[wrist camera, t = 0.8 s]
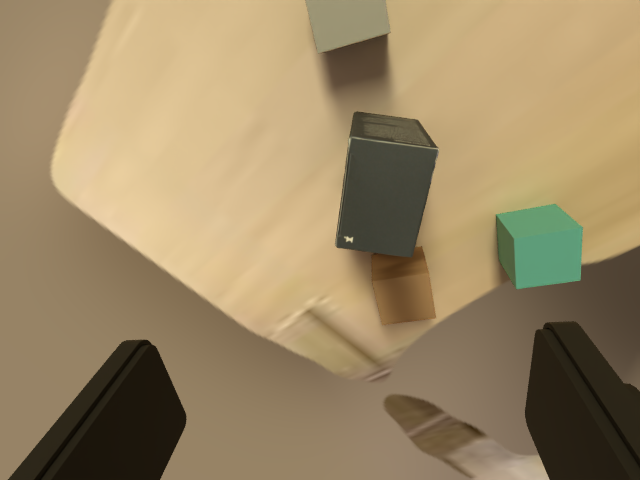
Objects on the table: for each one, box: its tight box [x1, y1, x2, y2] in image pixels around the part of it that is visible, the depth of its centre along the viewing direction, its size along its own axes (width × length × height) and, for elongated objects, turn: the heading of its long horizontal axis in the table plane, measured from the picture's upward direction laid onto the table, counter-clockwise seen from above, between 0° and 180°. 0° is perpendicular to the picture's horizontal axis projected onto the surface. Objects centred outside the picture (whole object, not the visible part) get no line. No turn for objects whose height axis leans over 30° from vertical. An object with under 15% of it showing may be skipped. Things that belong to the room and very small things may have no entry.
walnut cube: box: [372, 246, 436, 325], centre depth 37 cm, size 5×5×5 cm
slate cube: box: [305, 0, 391, 53], centre depth 27 cm, size 5×5×5 cm
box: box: [335, 112, 439, 257], centre depth 29 cm, size 8×6×11 cm
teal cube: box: [496, 204, 583, 289], centre depth 33 cm, size 5×5×5 cm
